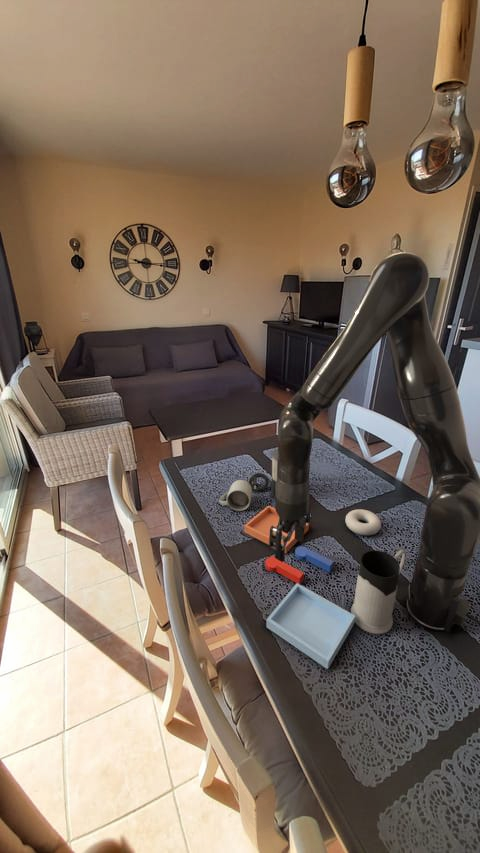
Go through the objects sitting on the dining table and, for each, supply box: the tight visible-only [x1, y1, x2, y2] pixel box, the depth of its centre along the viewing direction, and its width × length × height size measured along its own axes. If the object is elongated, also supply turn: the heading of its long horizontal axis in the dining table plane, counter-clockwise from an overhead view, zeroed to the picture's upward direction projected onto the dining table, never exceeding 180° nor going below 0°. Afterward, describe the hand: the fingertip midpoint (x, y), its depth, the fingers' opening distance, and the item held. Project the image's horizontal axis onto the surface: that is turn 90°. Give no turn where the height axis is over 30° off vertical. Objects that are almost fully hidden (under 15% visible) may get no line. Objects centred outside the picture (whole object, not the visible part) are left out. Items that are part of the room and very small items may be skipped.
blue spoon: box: [294, 546, 335, 573], centre depth 94 cm, size 10×4×2 cm, turn 51°
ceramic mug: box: [218, 479, 253, 512], centre depth 117 cm, size 11×8×8 cm
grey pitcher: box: [350, 549, 407, 635], centre depth 78 cm, size 9×14×15 cm, turn 126°
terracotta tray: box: [243, 505, 310, 555], centre depth 105 cm, size 14×12×2 cm
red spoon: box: [265, 556, 305, 585], centre depth 91 cm, size 10×4×2 cm, turn 51°
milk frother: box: [247, 448, 279, 498], centre depth 123 cm, size 14×16×15 cm
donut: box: [344, 508, 382, 536], centre depth 106 cm, size 10×4×10 cm
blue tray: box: [266, 583, 356, 670], centre depth 77 cm, size 14×12×2 cm
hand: (289, 549), depth 87 cm, fingers open, 8 cm apart
